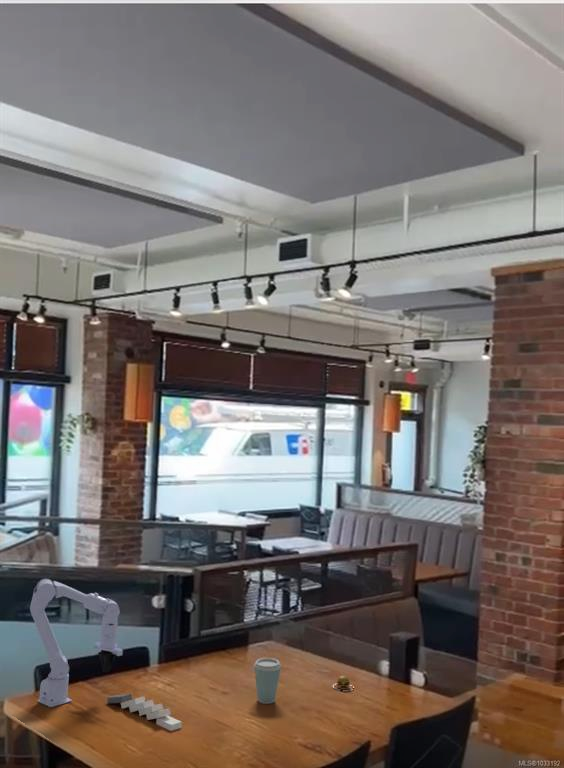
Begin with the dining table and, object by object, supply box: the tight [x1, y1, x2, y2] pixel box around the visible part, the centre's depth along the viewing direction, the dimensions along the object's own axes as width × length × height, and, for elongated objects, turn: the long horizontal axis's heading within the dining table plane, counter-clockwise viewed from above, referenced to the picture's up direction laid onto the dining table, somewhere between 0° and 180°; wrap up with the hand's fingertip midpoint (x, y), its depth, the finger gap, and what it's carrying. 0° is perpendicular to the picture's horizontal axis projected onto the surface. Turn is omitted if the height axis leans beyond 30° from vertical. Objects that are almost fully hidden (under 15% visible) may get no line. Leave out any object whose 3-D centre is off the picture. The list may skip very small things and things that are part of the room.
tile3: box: [128, 698, 155, 714], centre depth 271 cm, size 4×2×8 cm
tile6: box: [155, 715, 183, 732], centre depth 261 cm, size 4×2×8 cm
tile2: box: [120, 695, 146, 710], centre depth 274 cm, size 4×2×8 cm
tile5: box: [145, 708, 172, 721], centre depth 265 cm, size 4×2×8 cm
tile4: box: [138, 703, 164, 717], centre depth 268 cm, size 4×2×8 cm
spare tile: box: [107, 693, 133, 704], centre depth 279 cm, size 4×2×8 cm
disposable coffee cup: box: [253, 657, 282, 705], centre depth 292 cm, size 11×11×15 cm
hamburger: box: [332, 675, 355, 692], centre depth 313 cm, size 12×12×6 cm
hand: (106, 671), depth 284 cm, fingers closed
